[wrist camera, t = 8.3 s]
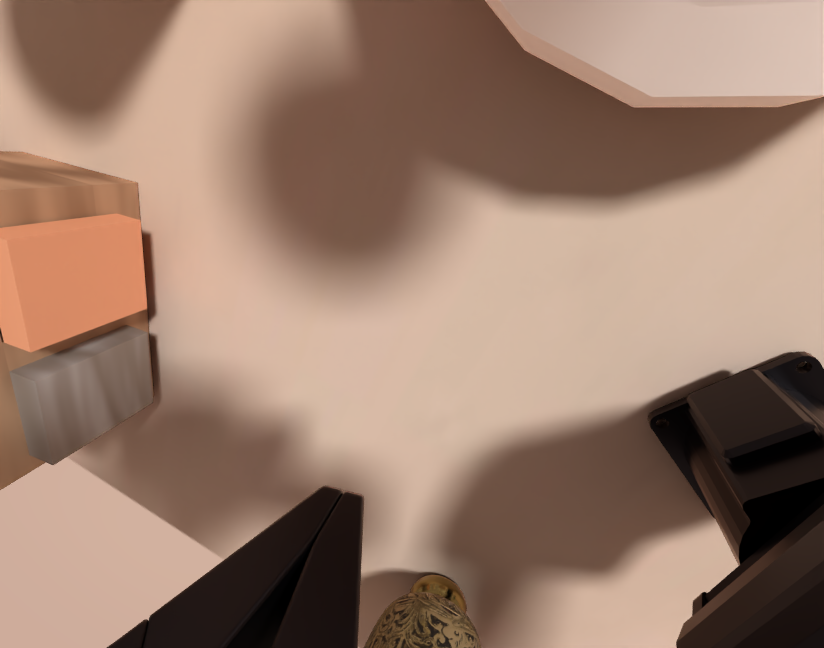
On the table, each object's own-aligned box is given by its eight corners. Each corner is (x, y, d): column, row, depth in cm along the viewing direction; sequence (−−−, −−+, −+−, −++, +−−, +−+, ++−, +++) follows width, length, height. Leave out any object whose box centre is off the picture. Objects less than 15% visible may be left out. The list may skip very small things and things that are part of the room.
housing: (160, 188, 22) (-76, 206, 14) (172, 403, 28) (11, 509, 19) (21, 152, 24) (-267, 146, 15) (59, 360, 29) (-135, 442, 21)
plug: (140, 220, 21) (6, 240, 16) (147, 308, 23) (30, 352, 18) (-4, 179, 23) (-169, 184, 18) (14, 264, 25) (-129, 292, 20)
